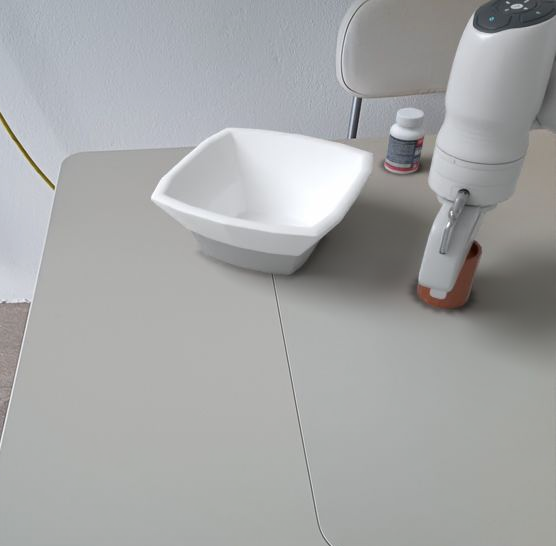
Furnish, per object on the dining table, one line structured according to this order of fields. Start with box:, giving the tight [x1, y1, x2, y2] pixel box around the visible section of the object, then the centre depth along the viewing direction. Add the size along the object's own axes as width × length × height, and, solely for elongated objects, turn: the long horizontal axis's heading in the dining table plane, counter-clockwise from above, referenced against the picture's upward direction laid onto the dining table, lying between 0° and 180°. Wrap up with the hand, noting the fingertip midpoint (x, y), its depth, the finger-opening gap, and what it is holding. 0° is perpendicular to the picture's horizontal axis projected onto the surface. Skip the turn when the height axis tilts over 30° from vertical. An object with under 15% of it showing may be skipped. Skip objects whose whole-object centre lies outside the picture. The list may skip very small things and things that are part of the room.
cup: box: [416, 239, 483, 310], centre depth 77 cm, size 6×6×7 cm
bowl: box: [150, 126, 375, 276], centre depth 86 cm, size 24×25×10 cm
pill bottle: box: [384, 107, 426, 175], centre depth 100 cm, size 5×5×9 cm
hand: (446, 277), depth 77 cm, fingers closed on cup, 6 cm apart
